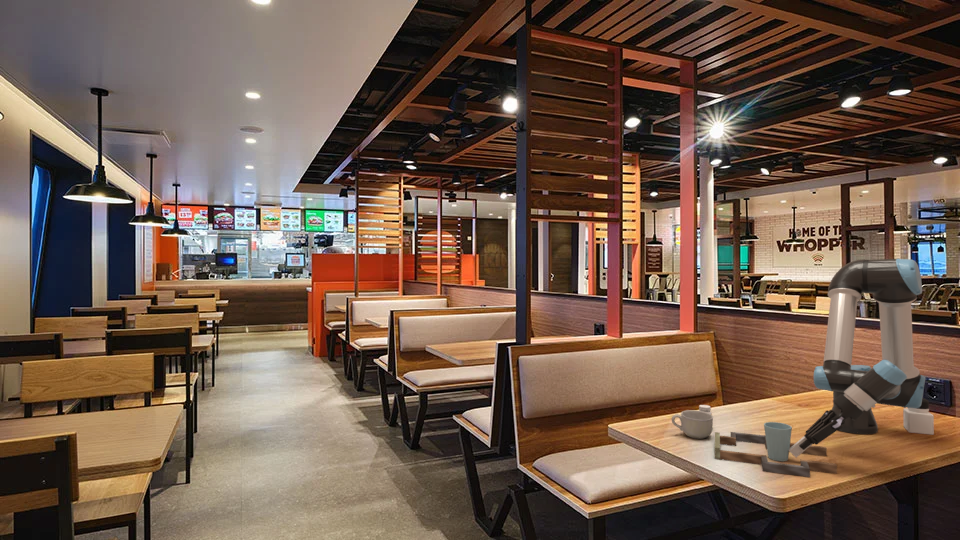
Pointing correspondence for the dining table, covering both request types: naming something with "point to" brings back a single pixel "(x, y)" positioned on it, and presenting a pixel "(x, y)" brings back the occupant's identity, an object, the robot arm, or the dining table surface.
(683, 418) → the teacup
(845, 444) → the dining table surface
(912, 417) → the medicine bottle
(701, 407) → the supplement bottle
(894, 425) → the dining table surface
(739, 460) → the wooden zigzag frame
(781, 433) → the cup
